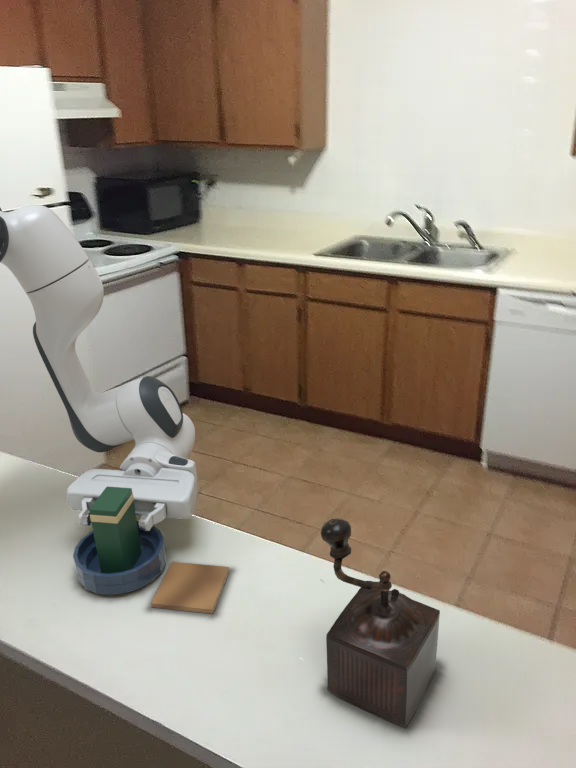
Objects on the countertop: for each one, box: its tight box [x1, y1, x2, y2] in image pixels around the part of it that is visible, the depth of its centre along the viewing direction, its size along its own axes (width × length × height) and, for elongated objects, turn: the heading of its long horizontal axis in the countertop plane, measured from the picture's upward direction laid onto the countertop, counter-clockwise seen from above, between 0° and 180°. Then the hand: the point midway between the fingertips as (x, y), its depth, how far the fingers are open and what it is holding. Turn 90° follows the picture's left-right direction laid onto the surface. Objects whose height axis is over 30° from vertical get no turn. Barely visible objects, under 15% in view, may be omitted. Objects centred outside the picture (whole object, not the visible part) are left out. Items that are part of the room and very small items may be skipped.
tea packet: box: [89, 486, 141, 574], centre depth 99 cm, size 4×6×12 cm
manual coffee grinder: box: [320, 517, 441, 729], centre depth 79 cm, size 16×11×18 cm
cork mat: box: [150, 561, 230, 615], centre depth 97 cm, size 9×9×1 cm
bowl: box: [72, 520, 167, 596], centre depth 101 cm, size 13×13×4 cm
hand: (113, 524), depth 98 cm, fingers open, 8 cm apart
